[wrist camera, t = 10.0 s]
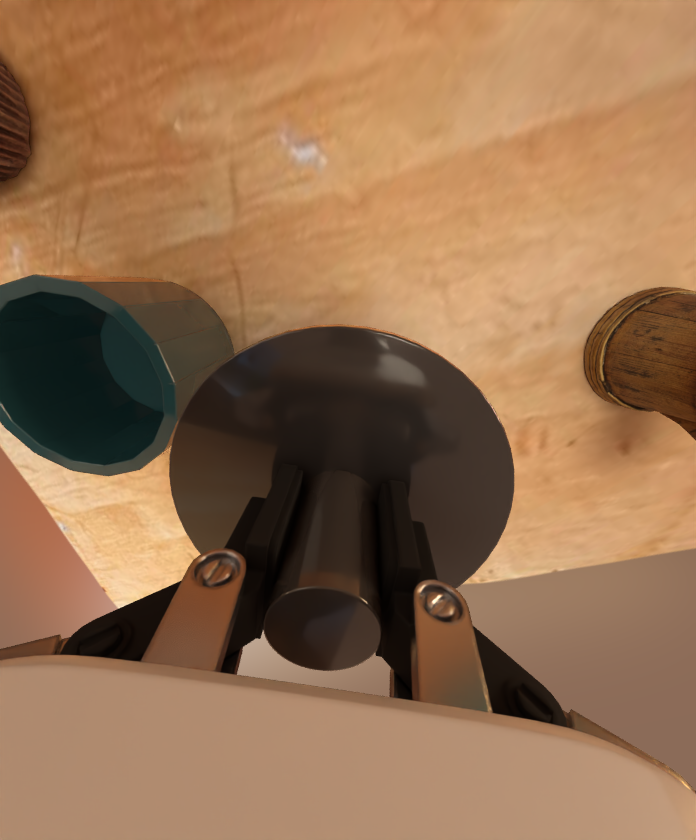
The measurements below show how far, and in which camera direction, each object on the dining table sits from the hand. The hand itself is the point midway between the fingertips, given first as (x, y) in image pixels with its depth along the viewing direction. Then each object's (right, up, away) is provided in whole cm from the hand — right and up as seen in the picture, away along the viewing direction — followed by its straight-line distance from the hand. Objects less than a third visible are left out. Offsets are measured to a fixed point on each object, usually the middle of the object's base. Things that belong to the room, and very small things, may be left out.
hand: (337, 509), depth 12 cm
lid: (0, 0, +1) cm, 1 cm away
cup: (-15, +9, +16) cm, 23 cm away
